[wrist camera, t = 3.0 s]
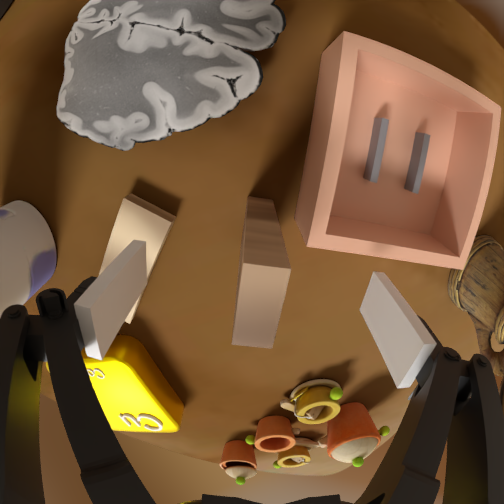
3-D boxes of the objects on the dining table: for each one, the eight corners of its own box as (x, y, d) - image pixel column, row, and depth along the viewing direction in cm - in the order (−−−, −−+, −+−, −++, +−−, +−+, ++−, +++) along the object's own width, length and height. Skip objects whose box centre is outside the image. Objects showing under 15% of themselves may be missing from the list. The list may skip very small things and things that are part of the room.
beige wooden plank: (133, 192, 23) (123, 198, 21) (177, 215, 24) (171, 222, 22) (99, 293, 27) (91, 303, 25) (136, 312, 28) (129, 324, 26)
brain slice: (221, 178, 22) (217, 185, 20) (56, 123, 20) (37, 125, 17) (313, -17, 15) (321, -32, 12) (139, -51, 12) (129, -65, 10)
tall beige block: (247, 196, 23) (243, 263, 12) (272, 199, 23) (291, 269, 12) (240, 247, 25) (231, 344, 14) (263, 250, 25) (272, 348, 14)
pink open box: (321, 53, 18) (344, 30, 12) (459, 105, 19) (501, 107, 13) (294, 217, 23) (306, 246, 18) (429, 242, 24) (462, 269, 19)
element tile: (136, 330, 29) (122, 359, 25) (189, 408, 35) (184, 436, 31) (53, 341, 31) (37, 364, 26) (108, 409, 37) (99, 432, 32)
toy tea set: (316, 362, 31) (331, 431, 22) (389, 395, 34) (409, 447, 26) (206, 444, 40) (200, 492, 31) (278, 464, 43) (280, 506, 34)
